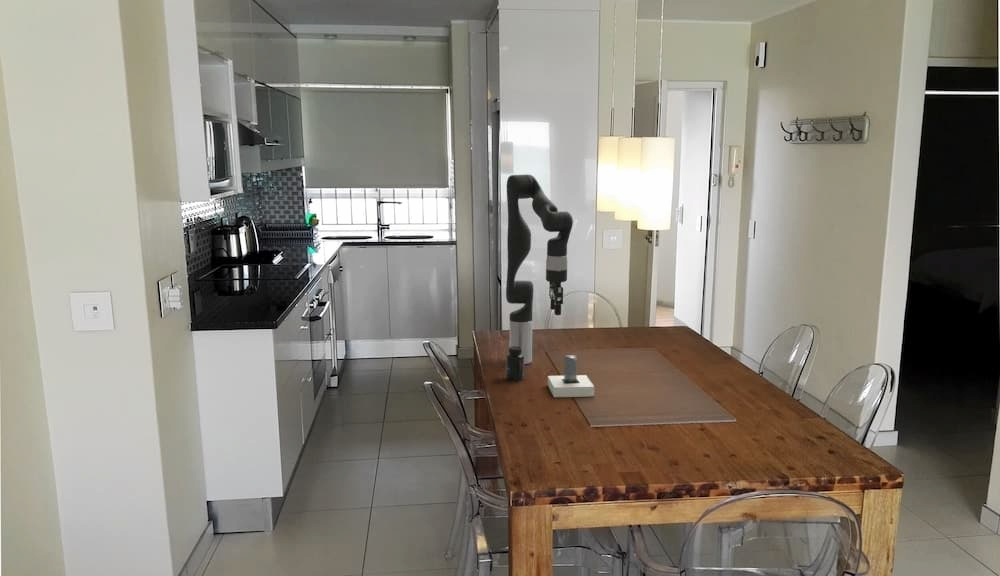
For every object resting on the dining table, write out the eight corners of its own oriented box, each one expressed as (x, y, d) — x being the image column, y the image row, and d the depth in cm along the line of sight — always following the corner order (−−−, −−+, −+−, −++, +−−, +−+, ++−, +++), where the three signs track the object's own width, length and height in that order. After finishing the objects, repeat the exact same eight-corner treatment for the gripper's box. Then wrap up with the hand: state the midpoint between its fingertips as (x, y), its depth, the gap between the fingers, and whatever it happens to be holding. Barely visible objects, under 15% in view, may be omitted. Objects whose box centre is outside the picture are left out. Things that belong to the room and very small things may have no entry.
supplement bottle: (502, 379, 270) (502, 348, 268) (510, 375, 276) (511, 344, 274) (519, 382, 267) (519, 350, 265) (527, 377, 273) (527, 346, 271)
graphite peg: (562, 387, 260) (563, 355, 258) (575, 387, 260) (575, 355, 258) (564, 391, 255) (565, 358, 253) (577, 391, 256) (578, 358, 254)
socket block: (547, 385, 264) (547, 375, 263) (585, 384, 265) (586, 375, 265) (554, 397, 250) (554, 387, 250) (594, 396, 251) (594, 386, 251)
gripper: (542, 264, 265) (542, 307, 269) (549, 271, 252) (548, 317, 255) (563, 264, 266) (562, 307, 269) (571, 271, 252) (569, 316, 256)
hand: (555, 312), depth 262 cm, fingers open, 8 cm apart
